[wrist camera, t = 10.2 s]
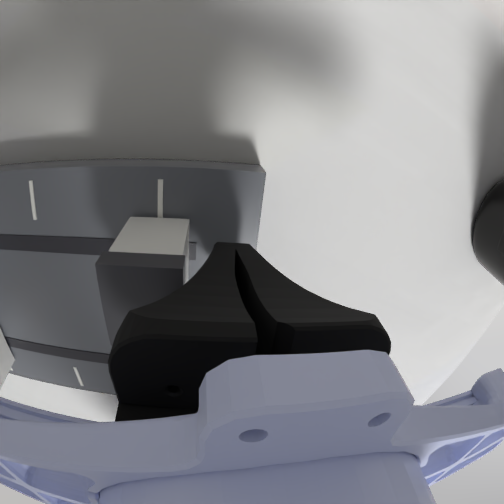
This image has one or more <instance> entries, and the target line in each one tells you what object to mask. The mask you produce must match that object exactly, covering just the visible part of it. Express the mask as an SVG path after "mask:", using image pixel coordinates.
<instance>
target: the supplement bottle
mask: <svg viewBox="0 0 504 504" xmlns="http://www.w3.org/2000/svg"><path fill="white" fill-rule="evenodd" d="M473 247H474V252H475V255H476V258H477V260H478V261H479V263H480V264H481V265H482V266H483V267H484V268H485V269H486V270H487V271H489V273H491V274H492V275H493V276H494V277H495V278H496V279H497V280H498V281H499V282H500V283H501V284H503V285H504V180H502V181H500V182H499V183H498V184H496V185H495V186H494V187H493V188H492V189H491V191H490V192H489V193H488V195H487V196H486V198H485V199H484V201H483V203H482V205H481V207H480V209H479V212H478V215H477V218H476V221H475V226H474V232H473Z"/></svg>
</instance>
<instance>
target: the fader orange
mask: <svg viewBox="0 0 504 504" xmlns="http://www.w3.org/2000/svg"><path fill="white" fill-rule="evenodd" d="M14 361H15V359H14V357H13V355H12V353H11V351H10V349H9V346H8V344H7V342H6V340H5V338H4V335H3V333H2V331H1V329H0V389H1V387H2V385H3V383H4V381H5V379H6V377H7V375H8V373H9V371H10V369H11V367H12V365H13V363H14Z"/></svg>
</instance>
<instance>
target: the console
mask: <svg viewBox="0 0 504 504" xmlns="http://www.w3.org/2000/svg"><path fill="white" fill-rule="evenodd" d="M265 177H266V172H265V171H264V169H263V168H262V166H261V165H253V164H241V163H227V162H212V161H192V160H164V159H93V160H66V161H48V162H34V163H22V164H11V165H1V166H0V329H1V331H2V333H3V335H4V338H5V340H6V342H7V344H8V346H9V349H10V351H11V353H12V355H13V357H14V359H15V361H14V363H13V365H12V367H11V369H10V371H9V373H11V374H14V375H18V376H22V377H26V378H30V379H34V380H38V381H42V382H47V383H51V384H56V385H61V386H66V387H71V388H76V389H82V390H88V391H94V392H100V393H107V394H114V395H116V392H115V389H114V386H113V383H112V380H111V377H110V374H109V369H108V359H109V355H110V352H111V348H112V346H111V344H110V340H109V336H108V331H107V327H106V322H105V318H104V313H103V308H102V303H101V298H100V292H99V286H98V281H97V274H96V268H95V263H96V261H97V260H98V258H99V257H100V255H101V254H102V252H103V251H109V249H110V247H111V246H112V244H113V243H114V241H115V240H116V238H117V236H118V235H119V233H120V232H121V230H122V229H123V227H124V226H125V224H126V223H127V221H128V220H129V218H130V217H154V218H179V219H190V221H189V265H188V281H189V280H190V279H191V278H192V277H193V276H194V275H195V274H196V272H197V271H198V270H199V269H200V268H201V267H202V265H203V264H204V263H205V261H206V260H207V258H208V257H209V255H210V254H211V252H212V250H213V247H214V244H215V243H217V242H227V243H246V244H250V245H251V246H252V247H253V248H254V249H255V250H256V247H257V239H258V232H259V224H260V216H261V208H262V200H263V193H264V185H265Z"/></svg>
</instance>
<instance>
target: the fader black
mask: <svg viewBox="0 0 504 504" xmlns="http://www.w3.org/2000/svg"><path fill="white" fill-rule="evenodd" d="M189 221H190V219H179V218H154V217H130V218H129V220H128V221H127V223H126V224H125V226H124V227H123V229H122V230H121V232H120V233H119V235H118V236H117V238H116V240H115V241H114V243H113V244H112V246H111V247H110V249H109V251H103V252H102V254H101V255H100V257H99V258H98V260H97V261H96V263H95V268H96V274H97V281H98V286H99V292H100V298H101V303H102V308H103V313H104V318H105V322H106V327H107V331H108V336H109V340H110V344H111V346H112V345H113V342H114V338H115V336H116V334H117V331H118V329H119V328H120V326H121V324H122V322H123V320H124V318H125V317H126V315H127V313H128V312H129V311H130V310H133V309H136V308H139V307H142V306H145V305H148V304H151V303H153V302H155V301H157V300H160V299H162V298H164V297H166V296H167V295H169V294H171V293H173V292H174V291H176V290H177V289H179V288H180V287H181V286H183V285H184V284H185V283H186V282H187V281H188V265H189Z"/></svg>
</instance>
